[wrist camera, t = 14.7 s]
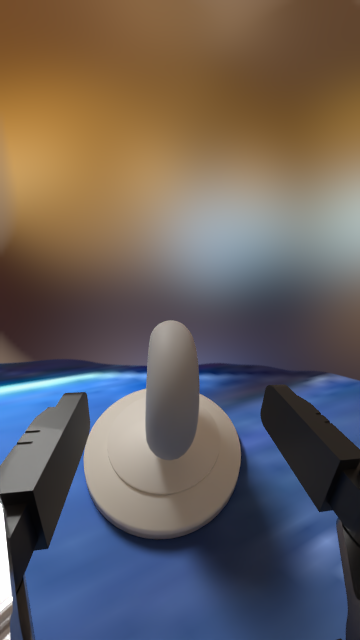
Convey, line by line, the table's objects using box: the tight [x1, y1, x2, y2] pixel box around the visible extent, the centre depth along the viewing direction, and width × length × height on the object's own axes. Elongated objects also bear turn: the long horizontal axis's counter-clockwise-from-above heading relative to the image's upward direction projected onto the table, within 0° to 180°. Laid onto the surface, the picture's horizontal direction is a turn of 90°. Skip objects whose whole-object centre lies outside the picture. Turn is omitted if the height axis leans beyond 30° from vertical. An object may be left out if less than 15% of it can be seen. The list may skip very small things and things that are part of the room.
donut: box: [145, 320, 199, 460], centre depth 16 cm, size 10×4×10 cm, turn 6°
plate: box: [84, 389, 241, 539], centre depth 17 cm, size 13×13×1 cm
